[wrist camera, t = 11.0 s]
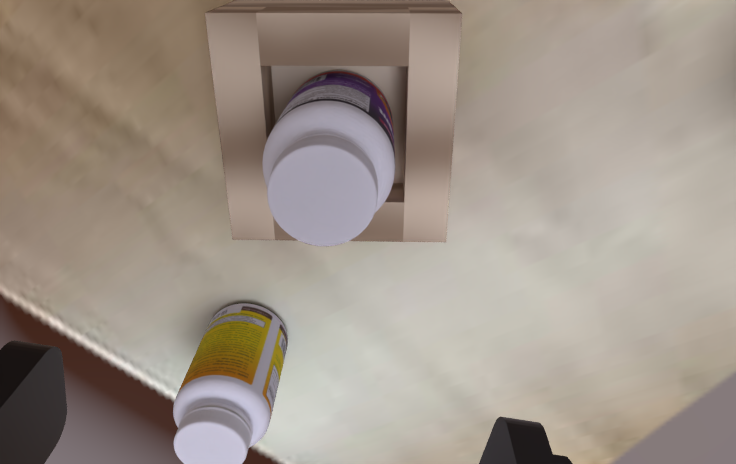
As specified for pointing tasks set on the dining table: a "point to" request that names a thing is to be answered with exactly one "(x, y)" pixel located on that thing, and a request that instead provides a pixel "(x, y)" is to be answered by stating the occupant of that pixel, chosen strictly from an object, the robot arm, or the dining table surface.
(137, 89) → the dining table surface
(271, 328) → the supplement bottle
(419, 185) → the maple riser
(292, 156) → the pill bottle
